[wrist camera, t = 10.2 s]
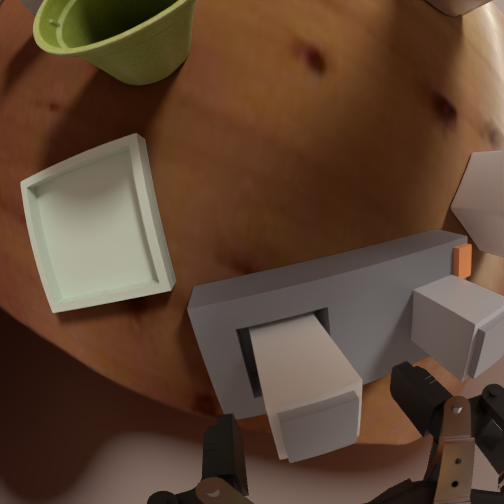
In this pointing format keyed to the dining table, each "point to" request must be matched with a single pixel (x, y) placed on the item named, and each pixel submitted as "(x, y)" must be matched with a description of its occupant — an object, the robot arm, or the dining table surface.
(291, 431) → the plug
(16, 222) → the dining table surface
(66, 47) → the plant pot
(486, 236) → the medicine bottle
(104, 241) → the tray
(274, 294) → the grey peg socket block
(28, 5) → the electrical switch
